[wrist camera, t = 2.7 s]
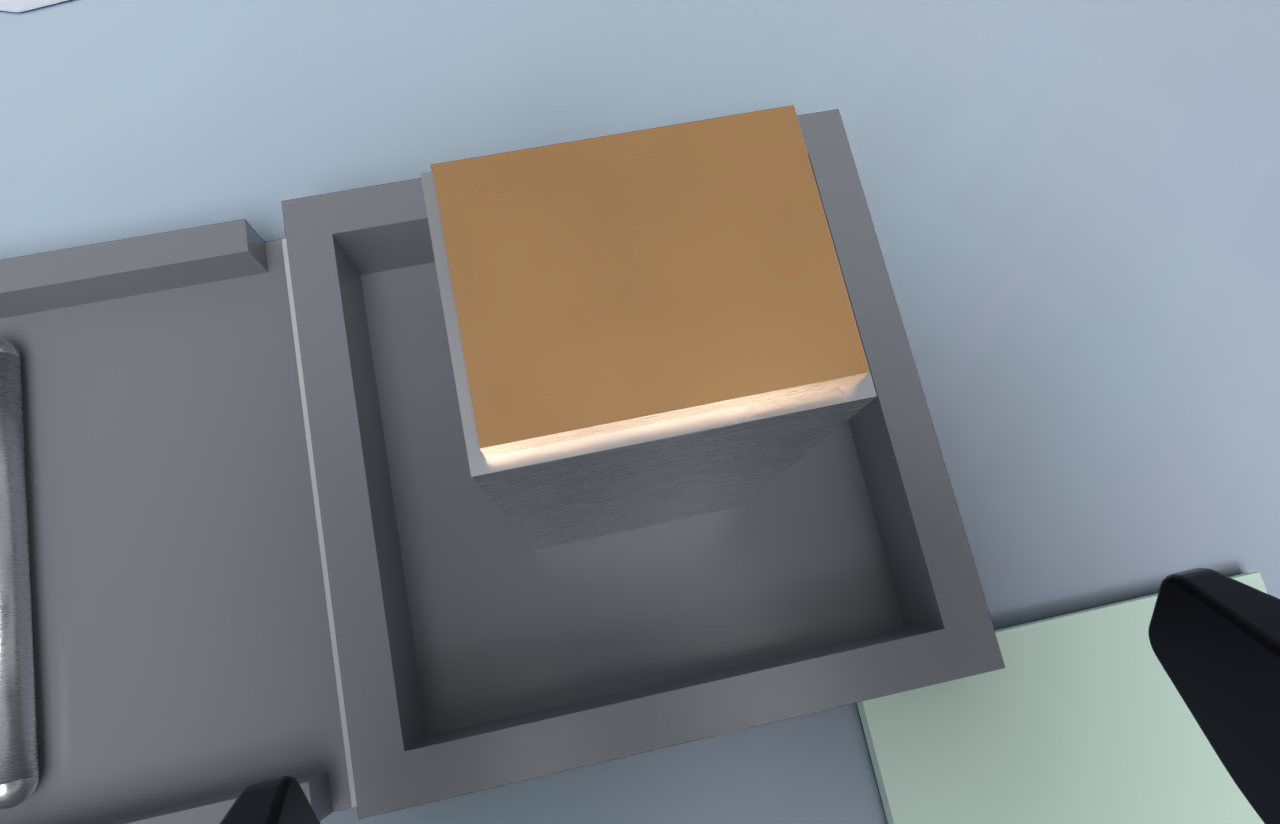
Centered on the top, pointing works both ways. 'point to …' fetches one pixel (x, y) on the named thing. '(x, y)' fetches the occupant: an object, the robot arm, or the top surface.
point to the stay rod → (15, 599)
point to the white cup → (25, 4)
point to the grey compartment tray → (417, 537)
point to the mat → (1054, 734)
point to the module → (642, 321)
